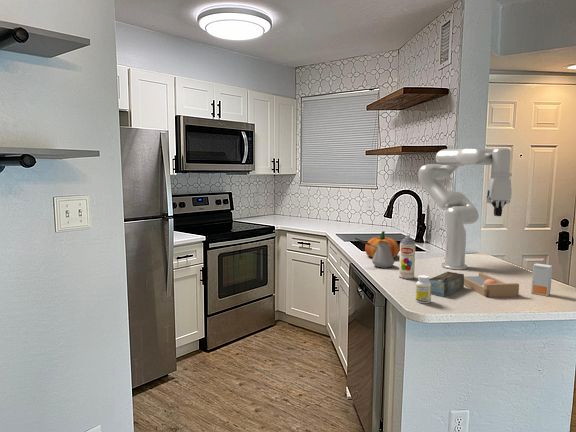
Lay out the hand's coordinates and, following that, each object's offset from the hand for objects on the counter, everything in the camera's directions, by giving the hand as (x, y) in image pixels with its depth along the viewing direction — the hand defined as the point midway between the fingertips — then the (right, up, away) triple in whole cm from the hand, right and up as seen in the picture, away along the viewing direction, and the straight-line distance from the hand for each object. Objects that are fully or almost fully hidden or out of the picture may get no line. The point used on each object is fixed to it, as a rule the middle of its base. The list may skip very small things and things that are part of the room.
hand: (497, 215), depth 189 cm
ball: (-13, -29, -19) cm, 37 cm away
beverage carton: (-31, -32, -18) cm, 47 cm away
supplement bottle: (-45, -33, -33) cm, 65 cm away
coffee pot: (-52, -27, +25) cm, 64 cm away
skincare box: (+6, -32, -22) cm, 39 cm away
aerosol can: (-41, -29, +2) cm, 50 cm away
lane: (-13, -31, -13) cm, 36 cm away
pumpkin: (-42, -24, +48) cm, 69 cm away
